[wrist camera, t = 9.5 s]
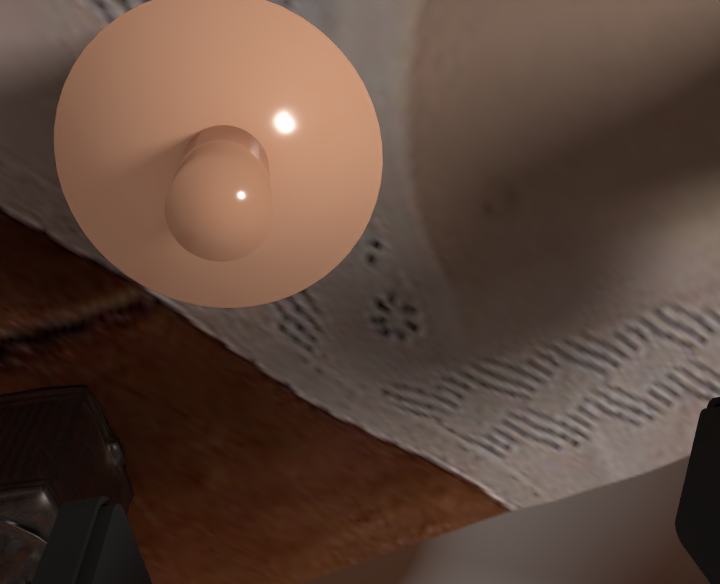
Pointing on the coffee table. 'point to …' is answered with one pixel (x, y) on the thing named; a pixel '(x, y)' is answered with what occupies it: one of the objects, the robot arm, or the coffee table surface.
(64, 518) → the robot arm
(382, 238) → the coffee table surface
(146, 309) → the coffee table surface
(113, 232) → the lid
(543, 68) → the coffee table surface
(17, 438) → the manual coffee grinder
